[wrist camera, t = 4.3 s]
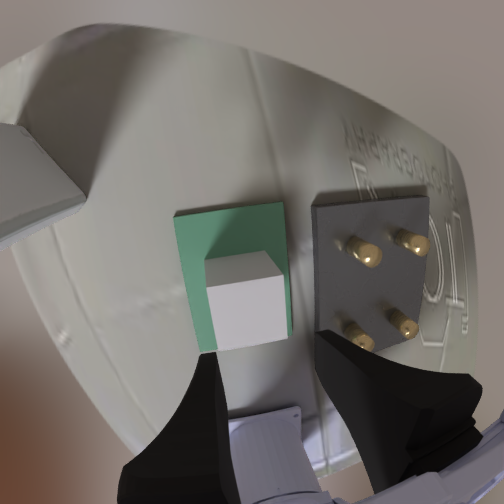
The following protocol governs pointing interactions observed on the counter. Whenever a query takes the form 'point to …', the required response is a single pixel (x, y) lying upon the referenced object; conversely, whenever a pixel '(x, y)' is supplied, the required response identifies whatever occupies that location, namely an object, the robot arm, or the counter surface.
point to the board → (225, 242)
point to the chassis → (370, 268)
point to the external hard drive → (31, 187)
